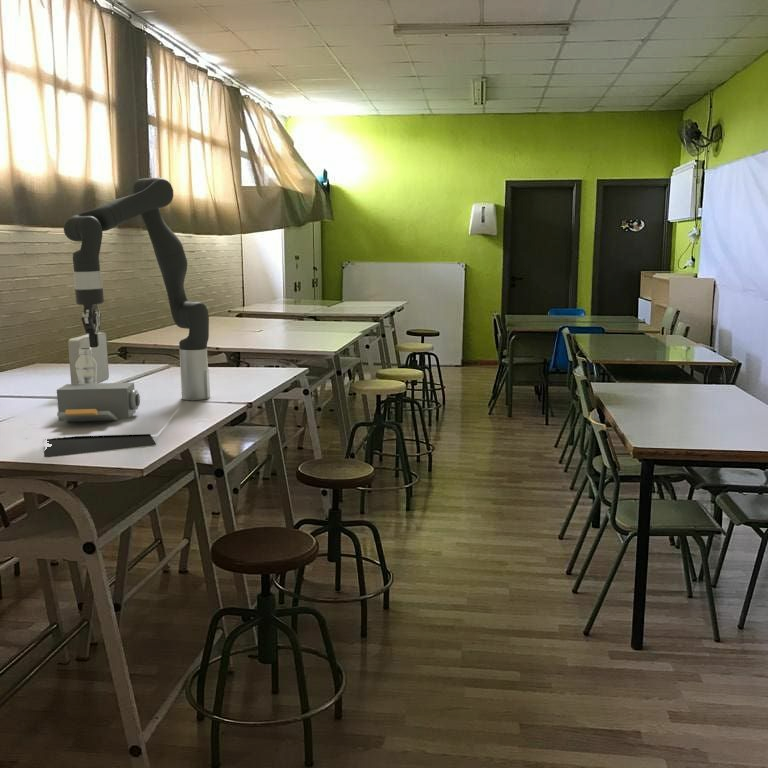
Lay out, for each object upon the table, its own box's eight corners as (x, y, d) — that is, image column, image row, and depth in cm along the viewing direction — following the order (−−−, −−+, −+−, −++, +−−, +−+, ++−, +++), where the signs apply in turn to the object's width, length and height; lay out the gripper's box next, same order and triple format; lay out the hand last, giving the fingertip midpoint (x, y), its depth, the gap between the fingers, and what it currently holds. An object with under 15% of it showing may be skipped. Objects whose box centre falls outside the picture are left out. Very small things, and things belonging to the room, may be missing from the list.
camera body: (142, 414, 235) (141, 382, 233) (136, 421, 225) (134, 388, 224) (69, 416, 233) (66, 384, 231) (59, 423, 223) (56, 389, 221)
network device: (88, 395, 266) (84, 339, 263) (64, 395, 267) (60, 339, 263) (115, 383, 292) (111, 332, 288) (92, 383, 292) (89, 332, 288)
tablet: (147, 428, 214) (157, 444, 196) (147, 431, 214) (157, 447, 196) (43, 439, 203) (44, 457, 185) (43, 442, 203) (44, 460, 185)
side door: (117, 417, 224) (106, 408, 211) (117, 421, 224) (106, 412, 211) (68, 418, 222) (54, 409, 210) (68, 422, 222) (54, 414, 209)
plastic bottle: (93, 412, 237) (89, 349, 234) (74, 412, 239) (69, 349, 235) (104, 408, 243) (100, 347, 240) (86, 408, 245) (81, 346, 241)
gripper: (96, 288, 210) (102, 349, 214) (107, 285, 223) (112, 343, 227) (68, 289, 210) (75, 350, 213) (81, 286, 222) (87, 344, 226)
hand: (94, 346), depth 220 cm, fingers closed
